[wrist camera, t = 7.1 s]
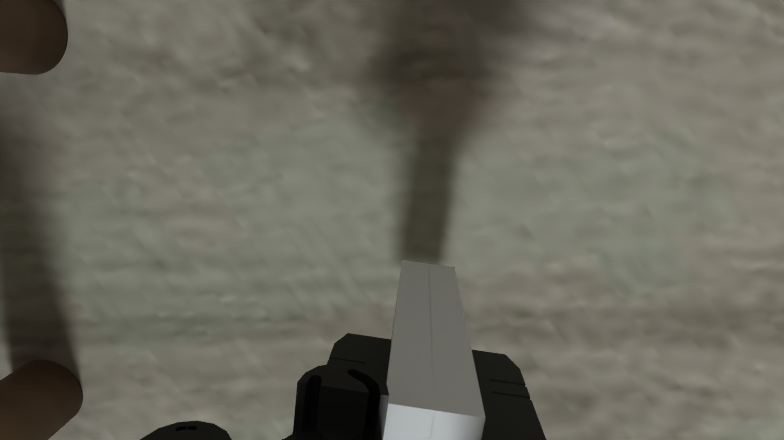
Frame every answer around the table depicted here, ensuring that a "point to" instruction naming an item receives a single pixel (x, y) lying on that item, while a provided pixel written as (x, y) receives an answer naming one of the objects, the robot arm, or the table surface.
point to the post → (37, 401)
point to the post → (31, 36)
